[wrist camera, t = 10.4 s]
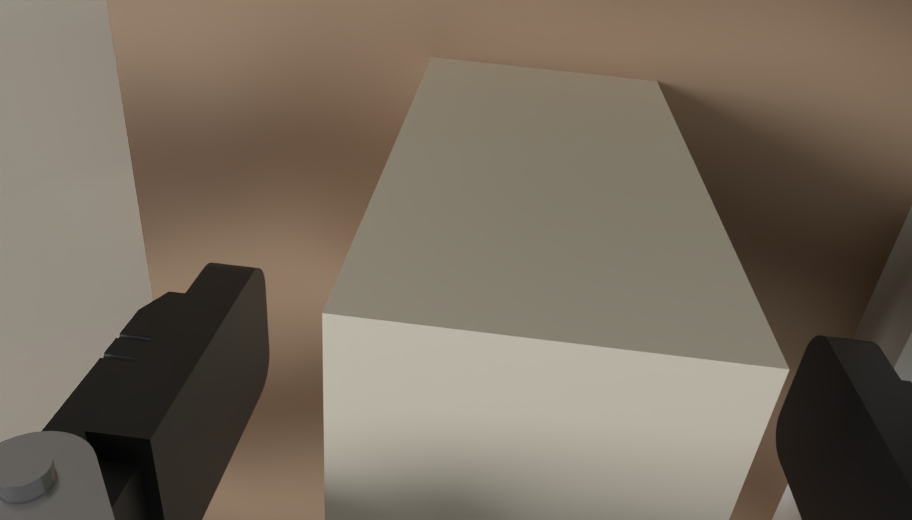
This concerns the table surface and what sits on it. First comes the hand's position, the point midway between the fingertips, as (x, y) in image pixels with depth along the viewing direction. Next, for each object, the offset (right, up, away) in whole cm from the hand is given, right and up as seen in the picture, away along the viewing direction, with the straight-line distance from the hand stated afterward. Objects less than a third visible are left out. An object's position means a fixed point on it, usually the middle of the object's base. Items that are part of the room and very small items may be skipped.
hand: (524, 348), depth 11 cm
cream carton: (0, +2, +4) cm, 4 cm away
